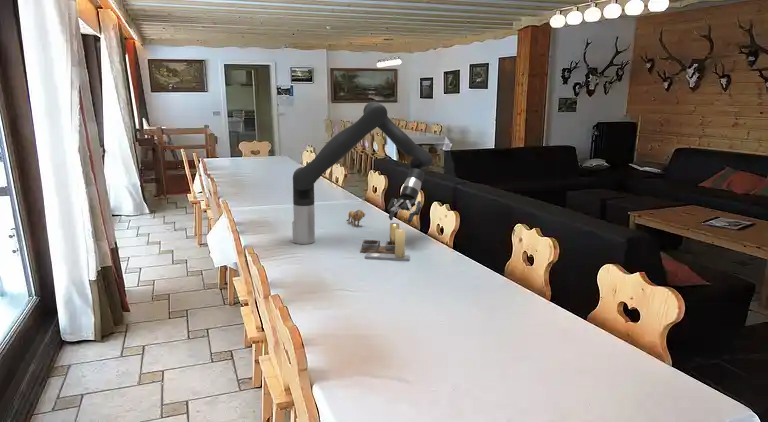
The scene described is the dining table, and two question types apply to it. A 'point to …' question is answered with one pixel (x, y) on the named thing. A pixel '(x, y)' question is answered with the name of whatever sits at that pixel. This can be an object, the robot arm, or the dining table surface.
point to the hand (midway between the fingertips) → (399, 220)
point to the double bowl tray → (377, 247)
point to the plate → (387, 257)
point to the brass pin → (393, 232)
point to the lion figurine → (356, 216)
